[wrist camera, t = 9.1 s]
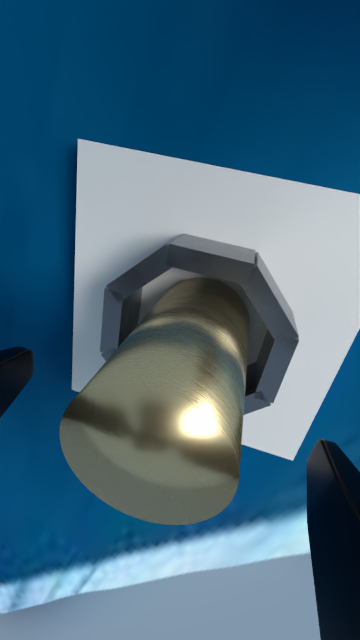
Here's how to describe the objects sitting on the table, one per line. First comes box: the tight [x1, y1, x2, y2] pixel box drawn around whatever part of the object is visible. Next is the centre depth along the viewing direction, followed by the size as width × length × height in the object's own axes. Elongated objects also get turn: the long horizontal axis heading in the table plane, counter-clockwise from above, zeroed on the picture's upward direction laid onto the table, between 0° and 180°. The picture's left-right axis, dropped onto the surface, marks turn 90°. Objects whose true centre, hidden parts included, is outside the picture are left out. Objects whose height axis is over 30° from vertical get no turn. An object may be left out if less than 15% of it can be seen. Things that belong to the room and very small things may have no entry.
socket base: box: [72, 139, 360, 461], centre depth 15 cm, size 13×13×1 cm
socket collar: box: [100, 234, 299, 415], centre depth 13 cm, size 8×8×2 cm
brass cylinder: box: [60, 277, 250, 525], centre depth 11 cm, size 4×4×8 cm
